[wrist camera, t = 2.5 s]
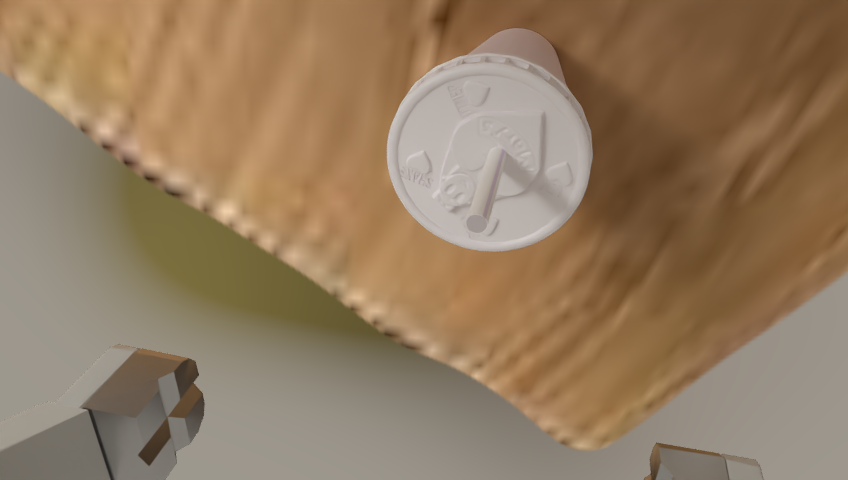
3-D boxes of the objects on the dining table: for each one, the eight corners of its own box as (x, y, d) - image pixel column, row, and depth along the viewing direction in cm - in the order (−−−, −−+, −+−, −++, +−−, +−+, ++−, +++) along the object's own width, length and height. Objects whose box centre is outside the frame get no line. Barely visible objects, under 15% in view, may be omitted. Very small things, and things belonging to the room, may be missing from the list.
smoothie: (626, 72, 27) (650, 247, 16) (515, 169, 31) (466, 374, 19) (516, -42, 26) (454, 56, 14) (412, 72, 29) (292, 227, 18)
